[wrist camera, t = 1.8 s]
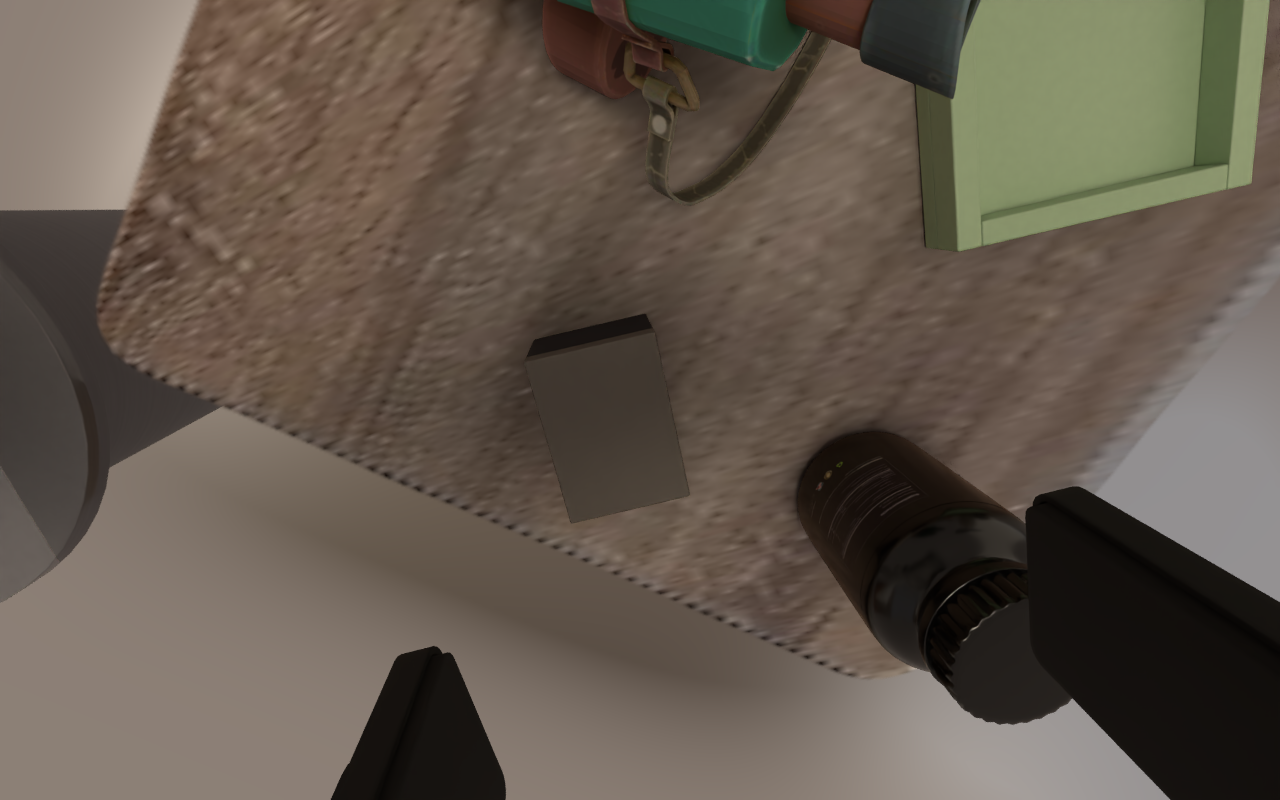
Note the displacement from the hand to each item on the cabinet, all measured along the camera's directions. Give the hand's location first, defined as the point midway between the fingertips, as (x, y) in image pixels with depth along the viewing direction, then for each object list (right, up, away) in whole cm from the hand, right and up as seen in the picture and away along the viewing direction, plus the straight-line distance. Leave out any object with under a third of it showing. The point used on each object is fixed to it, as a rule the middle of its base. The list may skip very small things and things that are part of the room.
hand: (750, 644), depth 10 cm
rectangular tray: (+15, +18, +14) cm, 28 cm away
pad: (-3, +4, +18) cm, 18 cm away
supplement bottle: (+9, -1, +20) cm, 22 cm away
